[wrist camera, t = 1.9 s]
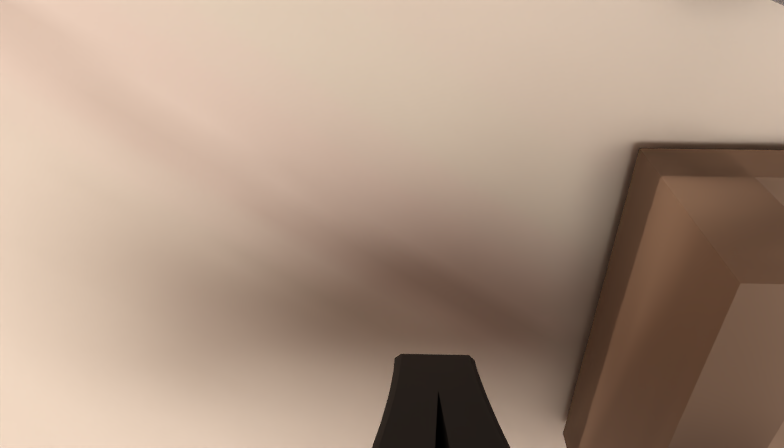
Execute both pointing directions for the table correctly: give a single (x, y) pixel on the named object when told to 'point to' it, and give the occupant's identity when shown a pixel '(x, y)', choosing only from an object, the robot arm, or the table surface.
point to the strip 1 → (690, 309)
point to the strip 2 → (779, 1)
